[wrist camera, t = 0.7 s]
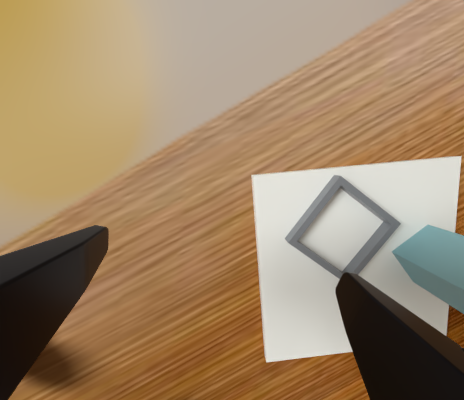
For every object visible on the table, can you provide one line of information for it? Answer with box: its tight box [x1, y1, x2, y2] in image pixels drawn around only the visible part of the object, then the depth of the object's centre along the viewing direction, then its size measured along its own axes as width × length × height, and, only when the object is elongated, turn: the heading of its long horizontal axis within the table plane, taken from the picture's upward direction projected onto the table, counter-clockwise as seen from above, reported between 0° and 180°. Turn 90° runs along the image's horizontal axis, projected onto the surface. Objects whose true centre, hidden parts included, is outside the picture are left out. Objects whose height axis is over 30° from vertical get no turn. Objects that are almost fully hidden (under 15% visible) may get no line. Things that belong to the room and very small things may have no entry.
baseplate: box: [251, 156, 461, 362], centre depth 24 cm, size 20×20×1 cm
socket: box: [285, 175, 401, 279], centre depth 22 cm, size 8×8×1 cm
